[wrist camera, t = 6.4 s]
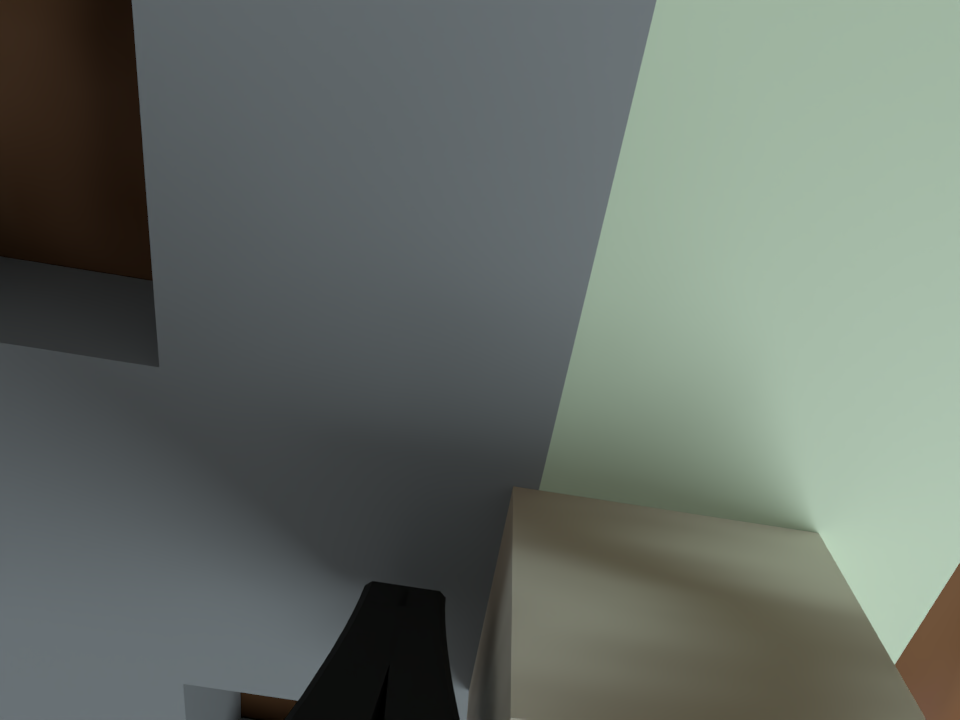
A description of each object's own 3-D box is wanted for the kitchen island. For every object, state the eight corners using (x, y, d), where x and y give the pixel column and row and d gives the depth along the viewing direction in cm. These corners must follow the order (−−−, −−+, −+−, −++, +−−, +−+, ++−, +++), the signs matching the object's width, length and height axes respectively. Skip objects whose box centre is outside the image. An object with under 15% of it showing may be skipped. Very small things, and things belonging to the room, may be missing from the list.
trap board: (-301, 662, 19) (-437, 769, 16) (-834, -294, 10) (-1355, -412, 7) (695, 805, 19) (723, 932, 17) (1087, 39, 10) (1286, 50, 8)
